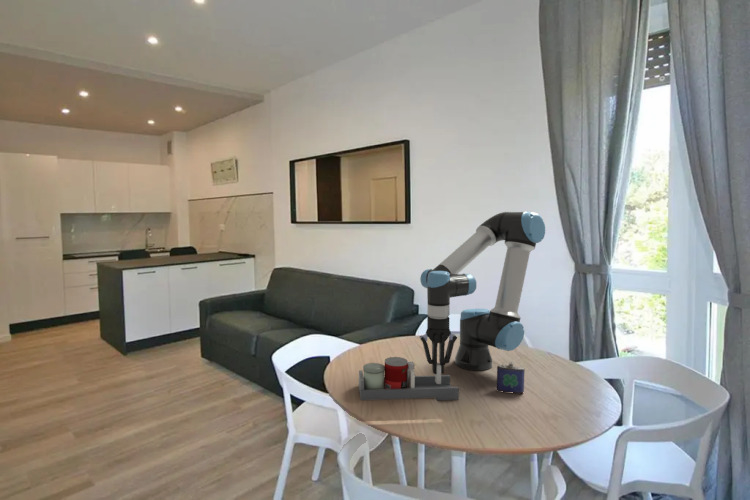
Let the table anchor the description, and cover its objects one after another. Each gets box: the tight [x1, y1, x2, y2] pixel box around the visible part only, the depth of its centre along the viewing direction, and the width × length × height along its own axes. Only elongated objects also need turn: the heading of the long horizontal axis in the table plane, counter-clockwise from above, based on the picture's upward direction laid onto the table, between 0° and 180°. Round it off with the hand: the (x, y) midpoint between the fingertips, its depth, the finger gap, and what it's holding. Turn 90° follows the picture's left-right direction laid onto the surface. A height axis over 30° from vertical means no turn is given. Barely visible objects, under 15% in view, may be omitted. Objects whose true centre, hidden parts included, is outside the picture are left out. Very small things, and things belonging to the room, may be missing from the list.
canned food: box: [384, 356, 409, 389], centre depth 147 cm, size 8×8×11 cm
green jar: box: [362, 362, 385, 390], centre depth 146 cm, size 7×7×9 cm
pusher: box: [407, 361, 416, 388], centre depth 148 cm, size 2×9×10 cm, turn 5°
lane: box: [358, 369, 460, 401], centre depth 148 cm, size 33×12×7 cm, turn 95°
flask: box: [496, 361, 526, 394], centre depth 150 cm, size 9×3×11 cm, turn 74°
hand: (438, 382), depth 149 cm, fingers closed
